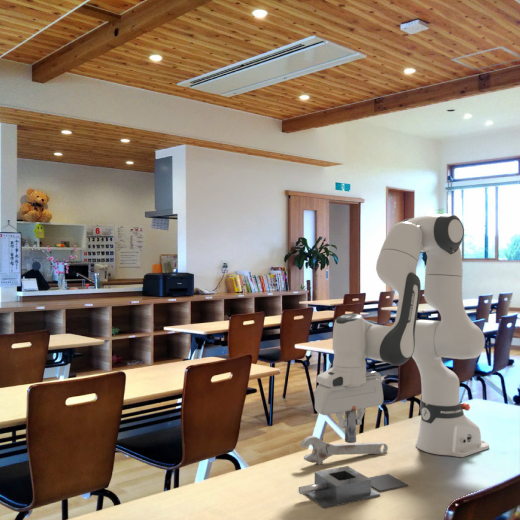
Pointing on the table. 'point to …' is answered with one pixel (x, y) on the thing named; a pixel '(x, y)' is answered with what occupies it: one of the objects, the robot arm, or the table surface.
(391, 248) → the robot arm
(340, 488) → the grey square socket base
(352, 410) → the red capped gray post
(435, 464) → the table surface
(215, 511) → the table surface
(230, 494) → the table surface
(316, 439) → the wrench
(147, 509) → the table surface
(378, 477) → the mat
